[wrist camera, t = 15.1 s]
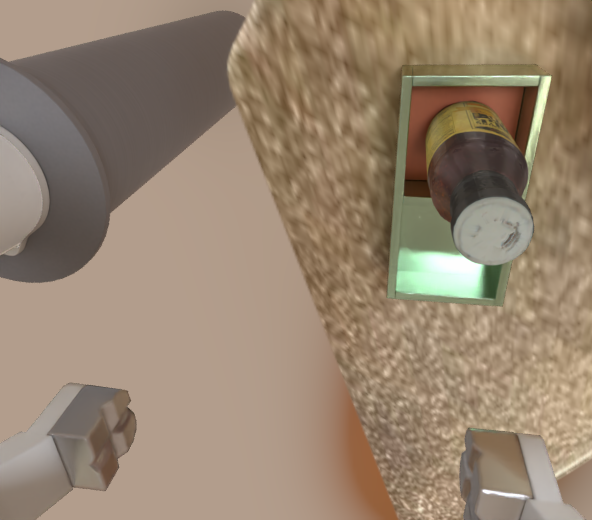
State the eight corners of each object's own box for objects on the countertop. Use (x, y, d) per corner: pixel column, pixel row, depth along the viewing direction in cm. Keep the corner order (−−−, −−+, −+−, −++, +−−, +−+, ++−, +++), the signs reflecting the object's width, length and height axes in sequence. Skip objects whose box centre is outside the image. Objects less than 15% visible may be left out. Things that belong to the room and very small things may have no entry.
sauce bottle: (514, 142, 42) (589, 258, 25) (447, 181, 45) (475, 310, 28) (474, 77, 40) (528, 156, 23) (407, 122, 43) (412, 223, 26)
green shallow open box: (387, 272, 52) (386, 298, 48) (402, 64, 42) (402, 75, 38) (494, 279, 50) (502, 306, 46) (537, 64, 40) (552, 75, 36)
